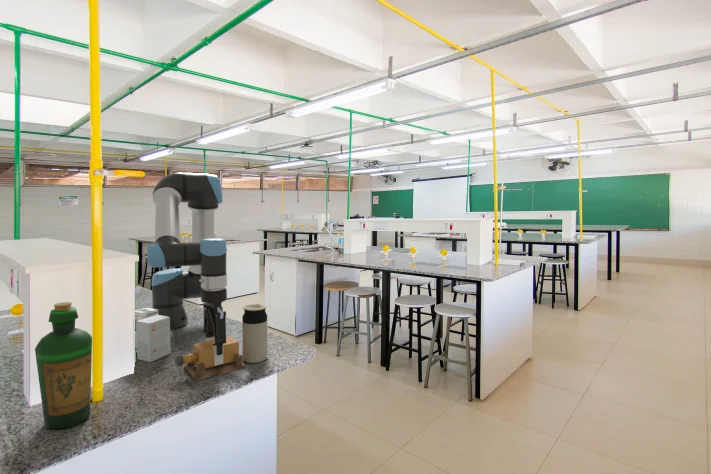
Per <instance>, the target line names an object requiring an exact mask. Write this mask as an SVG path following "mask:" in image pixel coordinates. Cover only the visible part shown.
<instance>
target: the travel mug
mask: <svg viewBox="0 0 711 474" xmlns="http://www.w3.org/2000/svg"><path fill="white" fill-rule="evenodd" d="M242 308H243V311H244V313H243V314H242V320H241V321H242V359H243V361H244V362H245V363H247V364H256V363H261V362H263V361H265V360H267V358H268V314H267V312H266V308H267V305H266V304H264V303H259V302H258V303H249V304H248V303H247V304H245V305H244V306H243V307H242Z"/></svg>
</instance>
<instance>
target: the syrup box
mask: <svg viewBox="0 0 711 474" xmlns="http://www.w3.org/2000/svg"><path fill="white" fill-rule="evenodd" d="M134 311H135V352H134V353H137V333H136V321H138V320H141V319H145V318H148V317H151V316H154V315H158V310H155V309H152V308H150V307H143V308H138V309H135V310H134Z"/></svg>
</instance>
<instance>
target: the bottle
mask: <svg viewBox="0 0 711 474" xmlns="http://www.w3.org/2000/svg"><path fill="white" fill-rule="evenodd" d="M53 306H54V309H53V308H52V309H51V310H50V312H49V317H48V322H49V323H51V324H52V325H51V326H52V331H50V332H49V333H47V334H46V335H44V336H43V337H41V339H40V340H39V341H38V343H37V345H36V346H35V348H34V352H35V361H36V368H37V376H38V383H39V391H40V392H39V393H40V399H41V406H42V413H43V414H42V415H43V421H44V426H45V427H46V428H48V429H51V430H58V429H59V430H61V429H66V428H67V429H68V428H71V427H73V426H76V425H78V424H80V423H82V422H84V421H85V420H86V419H88V418H89V417H90V415H91V394H92V391H91V390H92V388H91V387H92V358H93V357H92V354H93V352H92V351H93V336H92V335H91V334H90V333H89V332H88V331H86V330H83V329H81V328H78V327H76V320H77V319H78V318H79V315H78V311H77V308H76V307H75V306H72V302H71V301H69V302H68V301H65V302H58V303H55V304H53Z"/></svg>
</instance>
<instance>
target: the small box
mask: <svg viewBox="0 0 711 474" xmlns="http://www.w3.org/2000/svg"><path fill="white" fill-rule="evenodd" d="M136 333H137V352H136V353H137V354H136V355H137V360H139V361H145V362H148V363H151V362H154V361H156V360H159V359H161V358H163V357H165V356H168V355H170V354H171V353H172V352H171V329H170V317H167V316H162V315H154V316H151V317H148V318H145V319H141V320H138V321H136Z"/></svg>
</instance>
